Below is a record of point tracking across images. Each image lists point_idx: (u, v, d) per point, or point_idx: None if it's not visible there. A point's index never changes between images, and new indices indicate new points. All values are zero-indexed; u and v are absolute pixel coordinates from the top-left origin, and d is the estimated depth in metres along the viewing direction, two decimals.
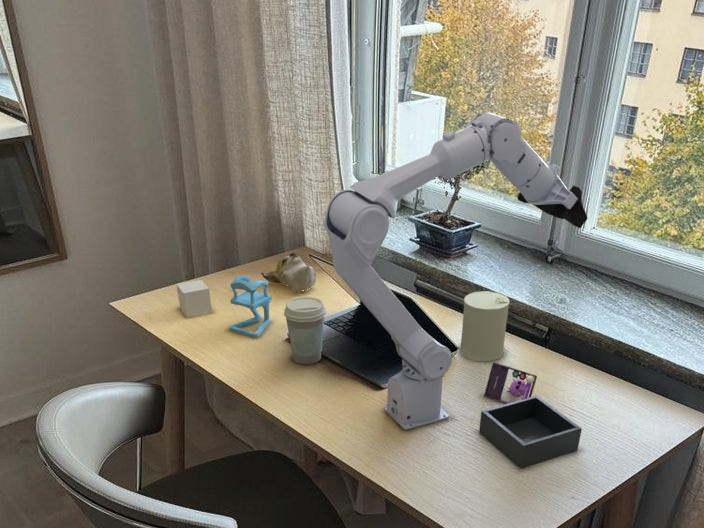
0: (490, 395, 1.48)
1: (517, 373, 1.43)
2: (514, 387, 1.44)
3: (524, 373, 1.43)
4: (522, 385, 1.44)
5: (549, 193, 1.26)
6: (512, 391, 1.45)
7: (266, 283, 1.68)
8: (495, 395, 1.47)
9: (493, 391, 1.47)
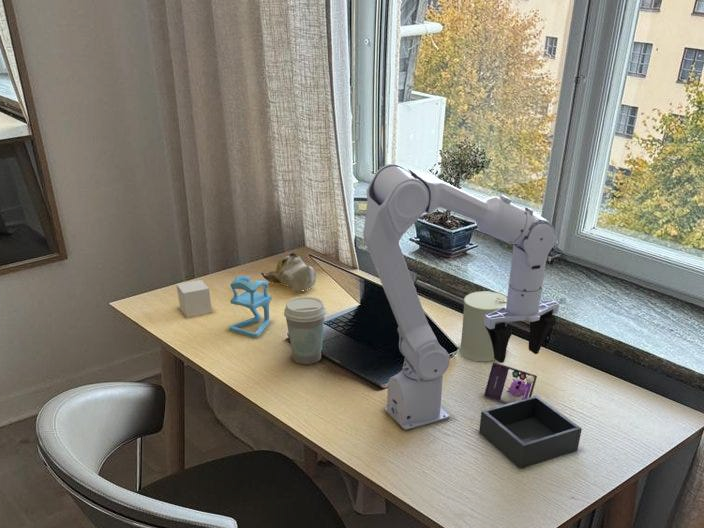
0: (490, 395, 1.48)
1: (517, 373, 1.43)
2: (514, 387, 1.44)
3: (524, 373, 1.43)
4: (522, 385, 1.44)
5: (506, 311, 1.36)
6: (512, 391, 1.45)
7: (266, 283, 1.68)
8: (495, 395, 1.47)
9: (493, 391, 1.47)
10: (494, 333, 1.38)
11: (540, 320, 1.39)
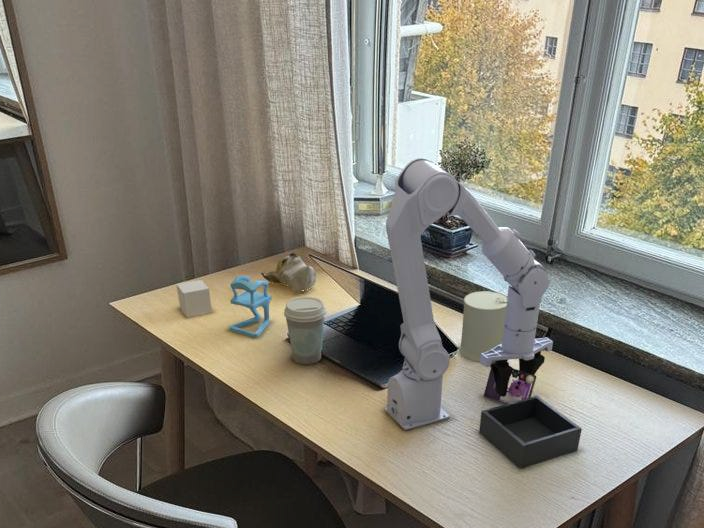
0: (490, 395, 1.48)
1: (516, 373, 1.43)
2: (514, 387, 1.44)
3: (524, 373, 1.43)
4: (522, 385, 1.44)
5: (502, 350, 1.41)
6: (512, 391, 1.45)
7: (266, 283, 1.68)
8: (495, 395, 1.47)
9: (493, 391, 1.47)
10: (496, 368, 1.43)
11: None
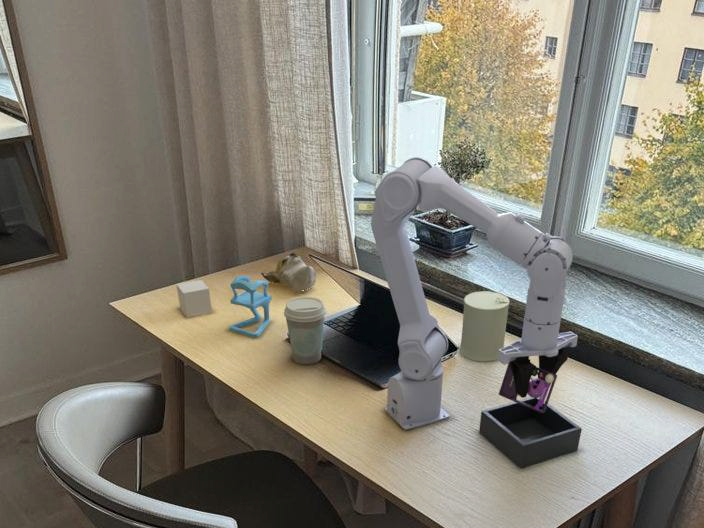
0: (505, 394, 1.33)
1: (535, 371, 1.29)
2: (531, 386, 1.30)
3: (543, 371, 1.28)
4: (540, 385, 1.29)
5: (522, 345, 1.26)
6: (529, 391, 1.30)
7: (266, 283, 1.68)
8: (510, 394, 1.33)
9: (509, 390, 1.33)
10: (516, 366, 1.29)
11: None
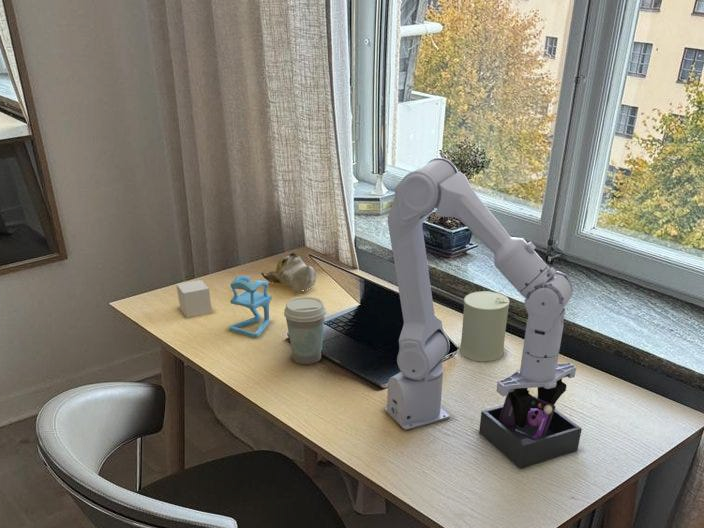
0: (504, 423, 1.35)
1: (534, 402, 1.30)
2: (530, 417, 1.31)
3: (542, 402, 1.29)
4: (539, 415, 1.31)
5: (520, 377, 1.27)
6: (528, 421, 1.32)
7: (266, 283, 1.68)
8: (509, 424, 1.34)
9: (508, 419, 1.34)
10: (515, 396, 1.30)
11: None
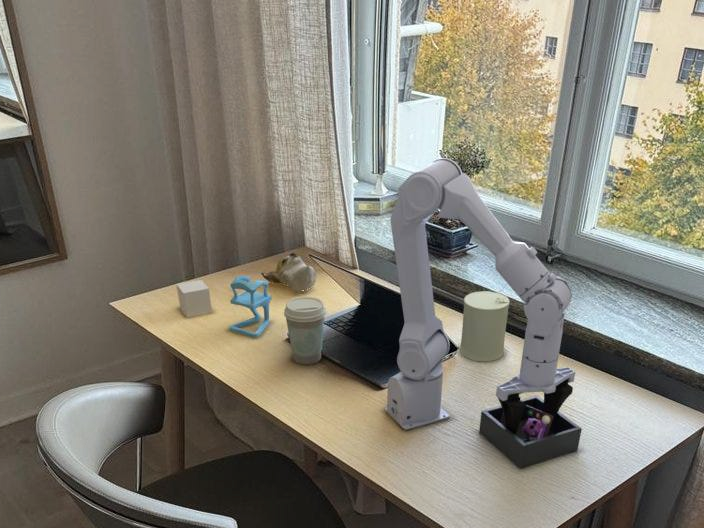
0: None
1: (532, 412, 1.31)
2: (528, 427, 1.32)
3: (540, 412, 1.30)
4: (537, 425, 1.32)
5: (520, 381, 1.28)
6: (526, 431, 1.33)
7: (266, 283, 1.68)
8: None
9: None
10: (506, 403, 1.30)
11: (555, 389, 1.30)
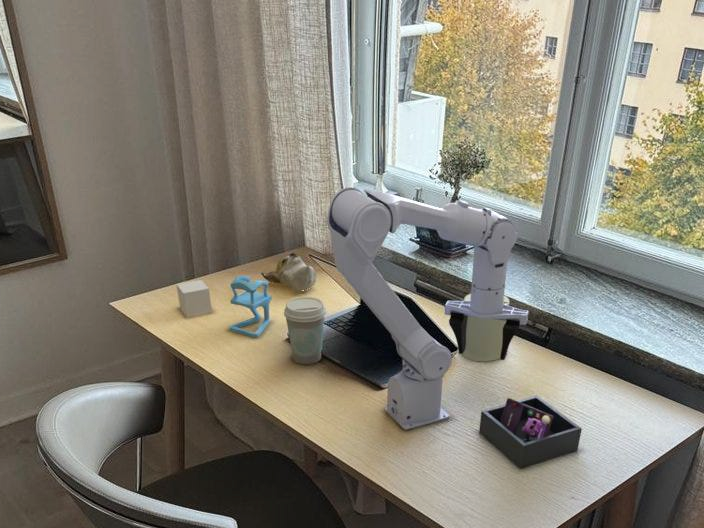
0: None
1: (532, 412, 1.31)
2: (528, 427, 1.32)
3: (540, 412, 1.30)
4: (537, 425, 1.32)
5: (502, 311, 1.35)
6: (526, 431, 1.33)
7: (266, 283, 1.68)
8: None
9: None
10: None
11: (466, 316, 1.40)
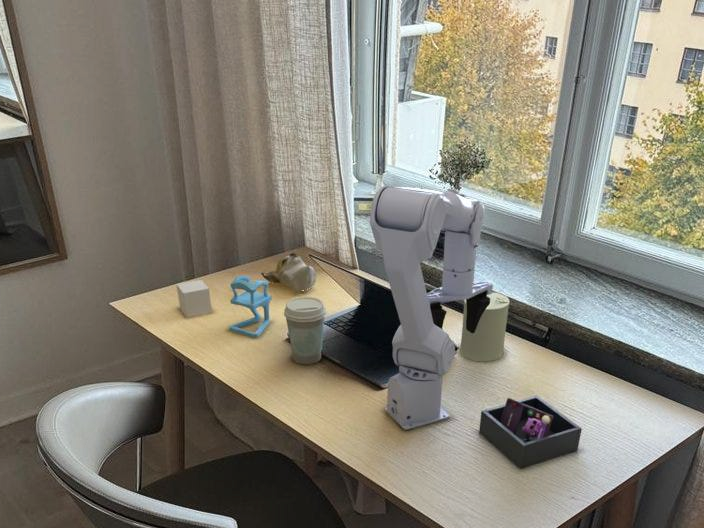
0: None
1: (532, 412, 1.31)
2: (528, 427, 1.32)
3: (540, 412, 1.30)
4: (537, 425, 1.32)
5: None
6: (526, 431, 1.33)
7: (266, 283, 1.68)
8: None
9: None
10: None
11: None
